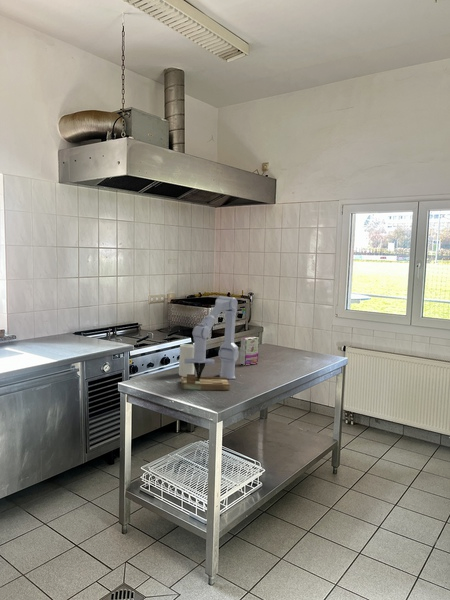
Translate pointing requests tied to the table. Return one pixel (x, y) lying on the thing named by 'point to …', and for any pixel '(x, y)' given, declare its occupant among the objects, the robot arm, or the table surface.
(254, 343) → the candy bar box
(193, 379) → the walnut cube
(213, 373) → the table surface
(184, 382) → the trap tray
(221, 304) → the robot arm
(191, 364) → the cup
